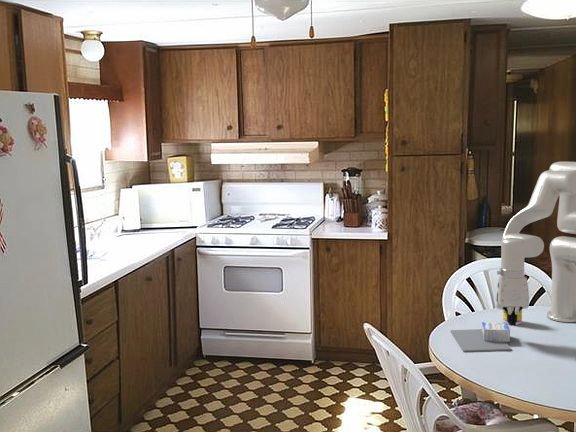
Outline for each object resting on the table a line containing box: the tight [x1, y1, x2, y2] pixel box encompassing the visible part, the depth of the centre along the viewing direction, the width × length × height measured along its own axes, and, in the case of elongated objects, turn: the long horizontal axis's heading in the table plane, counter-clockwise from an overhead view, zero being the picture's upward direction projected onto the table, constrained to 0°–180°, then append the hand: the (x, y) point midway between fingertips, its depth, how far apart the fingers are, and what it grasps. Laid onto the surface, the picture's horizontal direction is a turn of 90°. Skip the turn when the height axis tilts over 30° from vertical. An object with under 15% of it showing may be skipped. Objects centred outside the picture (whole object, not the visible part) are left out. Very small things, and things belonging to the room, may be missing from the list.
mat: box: [450, 328, 512, 353], centre depth 217 cm, size 20×16×1 cm
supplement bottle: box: [502, 307, 523, 326], centre depth 232 cm, size 7×7×13 cm
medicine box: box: [481, 321, 511, 343], centre depth 217 cm, size 8×4×9 cm
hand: (511, 324), depth 215 cm, fingers closed
